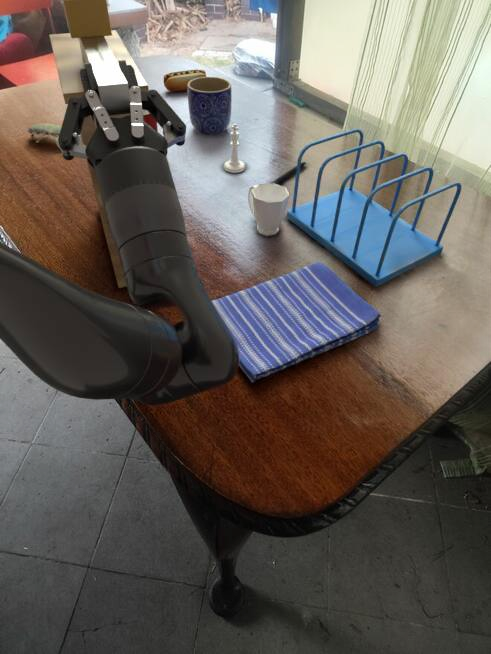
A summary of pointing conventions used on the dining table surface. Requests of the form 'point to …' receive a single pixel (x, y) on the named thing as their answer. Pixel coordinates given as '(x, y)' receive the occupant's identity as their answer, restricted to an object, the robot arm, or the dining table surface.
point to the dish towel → (294, 319)
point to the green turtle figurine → (45, 131)
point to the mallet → (98, 51)
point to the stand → (71, 84)
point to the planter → (209, 104)
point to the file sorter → (368, 220)
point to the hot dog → (181, 79)
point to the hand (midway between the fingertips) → (105, 68)
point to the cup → (268, 206)
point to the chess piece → (234, 154)
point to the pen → (288, 174)
